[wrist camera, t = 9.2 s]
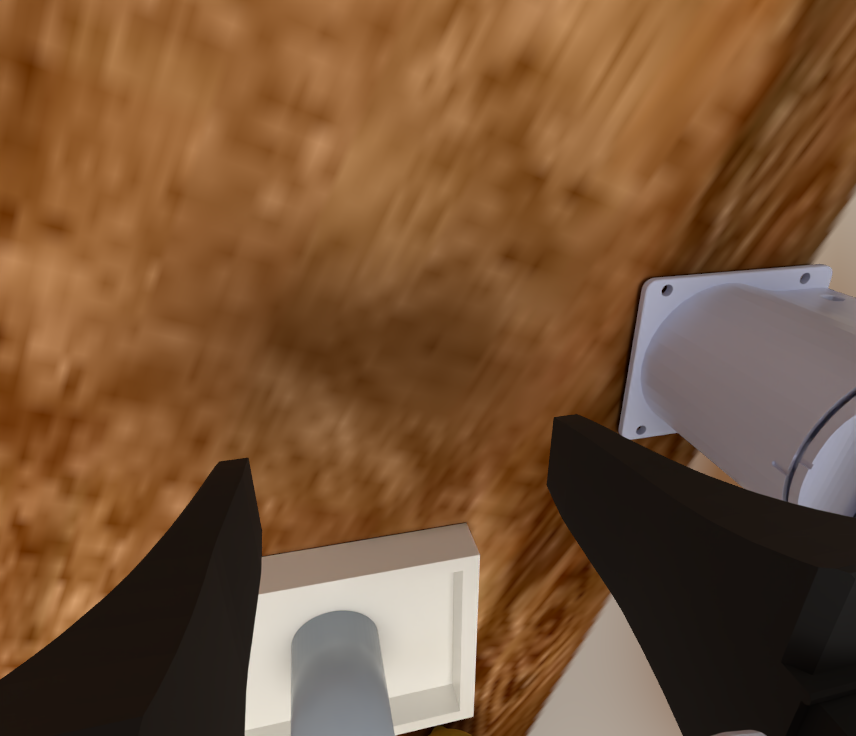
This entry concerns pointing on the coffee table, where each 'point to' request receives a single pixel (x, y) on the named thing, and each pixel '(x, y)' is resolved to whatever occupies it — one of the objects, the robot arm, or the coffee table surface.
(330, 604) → the tray
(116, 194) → the coffee table surface
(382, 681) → the cylinder
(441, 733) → the lemon
